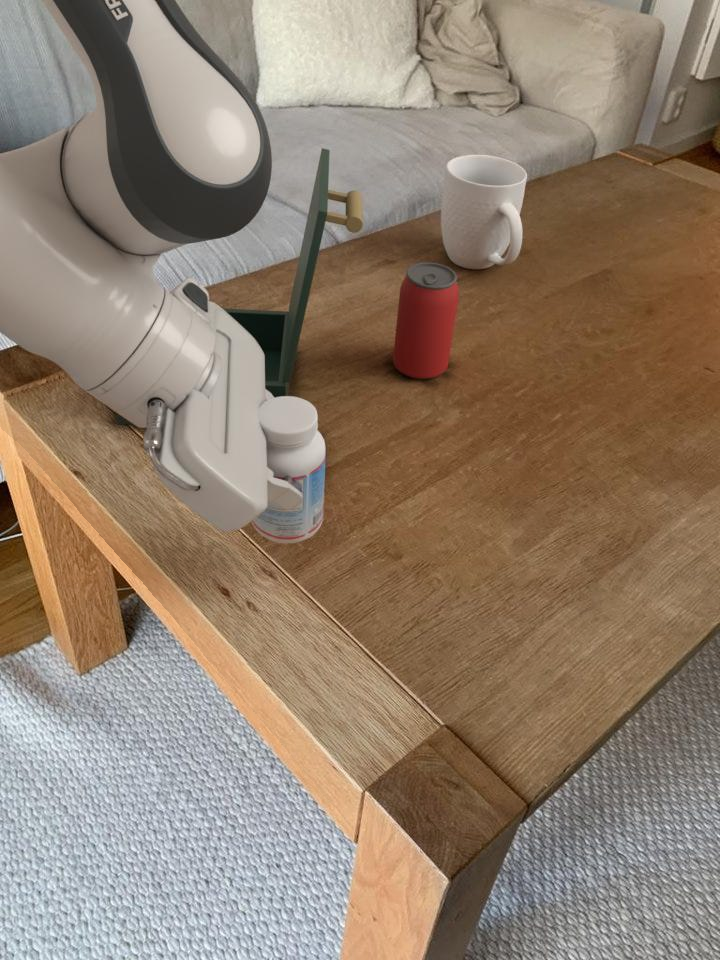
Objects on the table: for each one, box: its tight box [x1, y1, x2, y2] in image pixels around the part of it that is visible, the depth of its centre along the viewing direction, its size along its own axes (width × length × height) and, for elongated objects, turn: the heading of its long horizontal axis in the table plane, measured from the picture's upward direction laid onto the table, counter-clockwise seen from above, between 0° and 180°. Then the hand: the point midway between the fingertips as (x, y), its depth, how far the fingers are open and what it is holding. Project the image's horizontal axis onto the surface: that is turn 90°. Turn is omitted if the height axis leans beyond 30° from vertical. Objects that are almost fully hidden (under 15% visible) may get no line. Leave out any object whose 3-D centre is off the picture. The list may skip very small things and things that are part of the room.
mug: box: [440, 154, 528, 270], centre depth 113 cm, size 15×11×13 cm
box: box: [114, 307, 291, 426], centre depth 90 cm, size 18×15×6 cm
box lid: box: [282, 147, 364, 384], centre depth 82 cm, size 18×15×5 cm
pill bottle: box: [250, 395, 327, 544], centre depth 65 cm, size 6×6×11 cm
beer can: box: [392, 261, 460, 380], centre depth 93 cm, size 7×7×12 cm
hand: (294, 467), depth 65 cm, fingers closed on pill bottle, 6 cm apart
